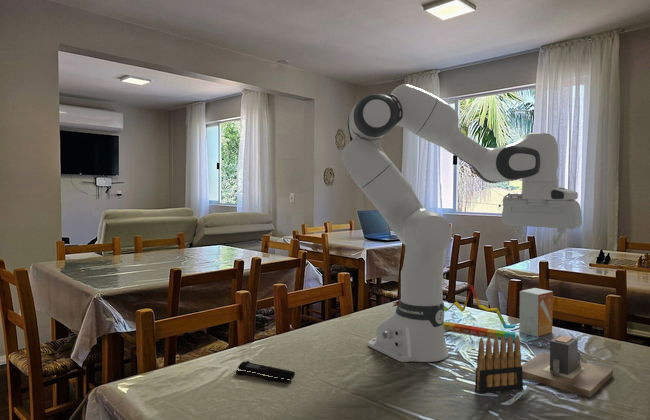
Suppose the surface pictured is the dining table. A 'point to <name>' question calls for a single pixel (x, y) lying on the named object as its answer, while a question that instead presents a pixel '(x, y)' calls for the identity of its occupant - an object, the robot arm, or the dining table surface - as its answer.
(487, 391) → the ammunition clip
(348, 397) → the dining table surface
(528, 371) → the board
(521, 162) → the robot arm
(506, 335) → the chart
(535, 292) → the small box
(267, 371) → the electric trimmer
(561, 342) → the plug block
